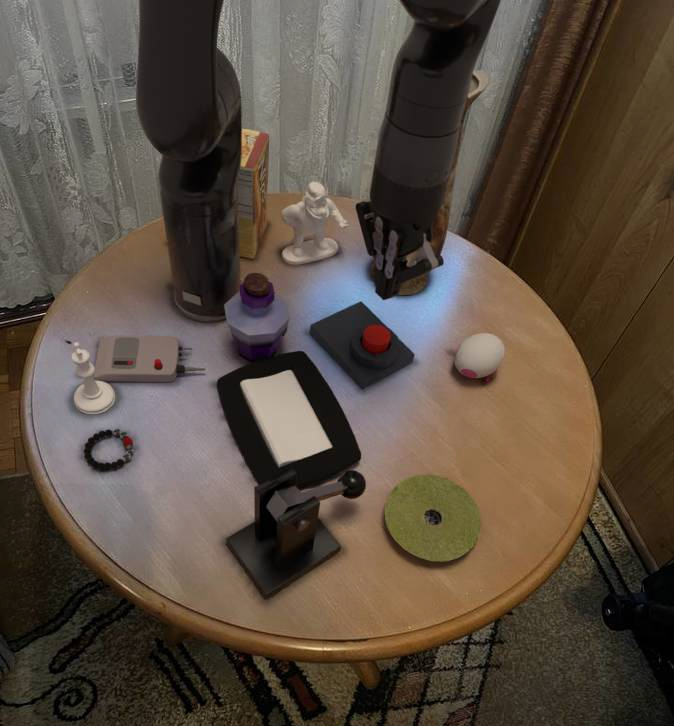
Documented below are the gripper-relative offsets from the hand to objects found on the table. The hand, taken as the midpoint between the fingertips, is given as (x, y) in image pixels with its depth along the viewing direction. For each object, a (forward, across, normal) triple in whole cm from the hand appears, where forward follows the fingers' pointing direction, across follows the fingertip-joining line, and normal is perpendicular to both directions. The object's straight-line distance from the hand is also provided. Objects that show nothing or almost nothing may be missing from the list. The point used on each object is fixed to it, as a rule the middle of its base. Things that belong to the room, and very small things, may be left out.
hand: (385, 294), depth 78 cm
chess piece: (+14, +14, +33) cm, 38 cm away
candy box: (+14, +30, 0) cm, 33 cm away
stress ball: (+14, -7, -12) cm, 20 cm away
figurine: (+14, +23, -6) cm, 27 cm away
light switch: (+14, -2, +15) cm, 20 cm away
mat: (+14, -23, +9) cm, 28 cm away
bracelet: (+13, +6, +35) cm, 38 cm away
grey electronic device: (+14, +16, +25) cm, 33 cm away
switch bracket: (+13, -16, +25) cm, 32 cm away
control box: (+13, +4, -1) cm, 14 cm away
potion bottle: (+14, +11, +11) cm, 21 cm away
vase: (+14, +12, -16) cm, 24 cm away
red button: (+10, +1, -1) cm, 10 cm away
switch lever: (+7, -16, +21) cm, 27 cm away
